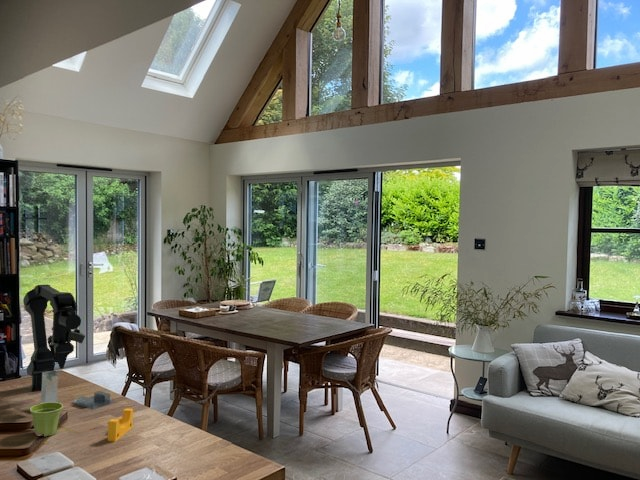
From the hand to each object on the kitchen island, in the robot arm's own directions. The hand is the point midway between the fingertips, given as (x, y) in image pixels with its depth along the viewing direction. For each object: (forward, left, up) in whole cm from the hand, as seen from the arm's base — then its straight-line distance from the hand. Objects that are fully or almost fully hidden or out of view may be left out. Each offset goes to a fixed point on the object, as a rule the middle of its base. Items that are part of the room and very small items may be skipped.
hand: (59, 365), depth 195 cm
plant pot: (+33, -9, -13) cm, 37 cm away
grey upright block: (+13, -5, -12) cm, 19 cm away
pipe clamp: (+44, +11, -13) cm, 47 cm away
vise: (+13, +10, -13) cm, 21 cm away
